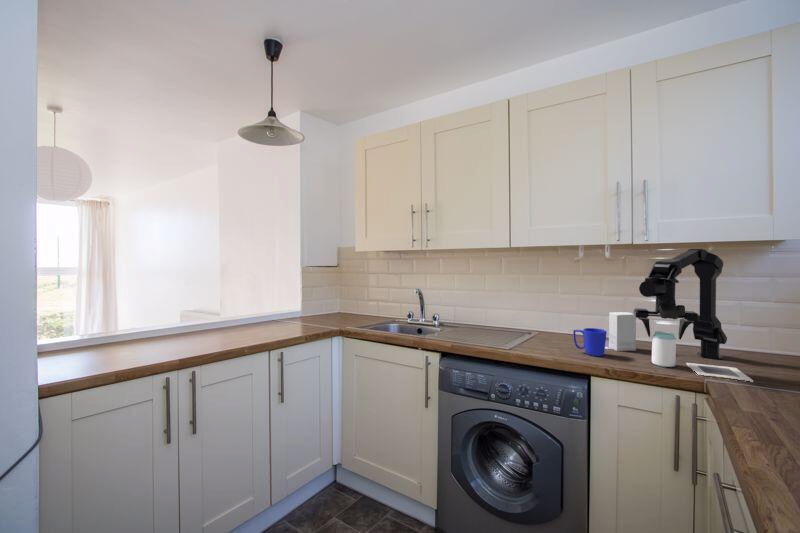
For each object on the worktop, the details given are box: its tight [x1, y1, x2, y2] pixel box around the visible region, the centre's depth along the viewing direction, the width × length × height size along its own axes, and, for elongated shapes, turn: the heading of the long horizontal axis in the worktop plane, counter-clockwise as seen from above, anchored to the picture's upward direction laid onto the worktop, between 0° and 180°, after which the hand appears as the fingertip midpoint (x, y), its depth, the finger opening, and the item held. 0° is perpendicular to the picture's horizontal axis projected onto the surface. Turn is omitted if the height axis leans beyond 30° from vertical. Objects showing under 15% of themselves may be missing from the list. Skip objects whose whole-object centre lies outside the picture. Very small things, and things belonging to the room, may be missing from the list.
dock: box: [685, 362, 754, 383], centre depth 125 cm, size 14×14×1 cm
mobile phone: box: [605, 339, 614, 350], centre depth 162 cm, size 8×1×15 cm
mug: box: [572, 327, 608, 357], centre depth 148 cm, size 8×12×10 cm
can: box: [651, 330, 677, 368], centre depth 133 cm, size 7×7×12 cm
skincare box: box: [608, 311, 637, 352], centre depth 155 cm, size 8×7×16 cm
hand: (664, 337), depth 133 cm, fingers open, 9 cm apart
